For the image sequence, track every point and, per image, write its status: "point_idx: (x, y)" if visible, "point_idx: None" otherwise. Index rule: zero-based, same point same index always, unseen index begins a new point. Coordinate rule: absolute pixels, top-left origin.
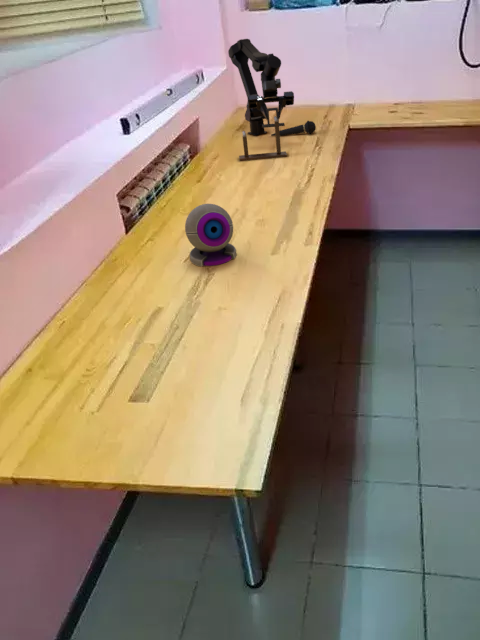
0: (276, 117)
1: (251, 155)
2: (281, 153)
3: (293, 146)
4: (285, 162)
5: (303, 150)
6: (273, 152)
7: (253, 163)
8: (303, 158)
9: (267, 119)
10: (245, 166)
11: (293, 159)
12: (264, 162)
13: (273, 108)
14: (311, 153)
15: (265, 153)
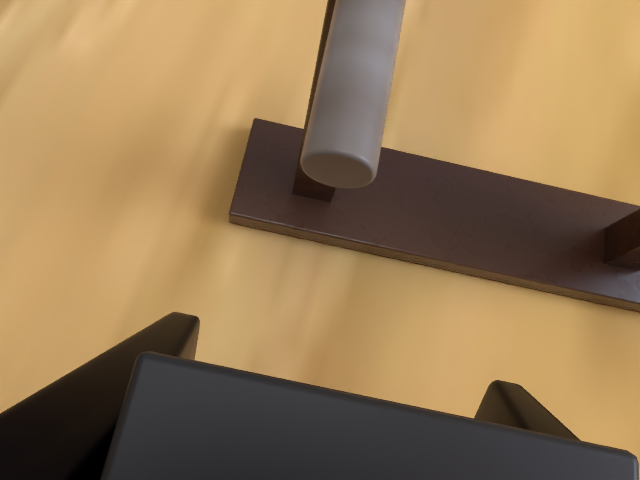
0: (339, 52)
1: (576, 254)
2: (292, 166)
3: None
4: (314, 7)
5: (21, 238)
6: (356, 237)
7: (562, 113)
8: (139, 21)
9: (480, 406)
10: (627, 78)
11: (227, 40)
12: (473, 91)
13: (333, 419)
14: (3, 108)
15: (437, 248)
